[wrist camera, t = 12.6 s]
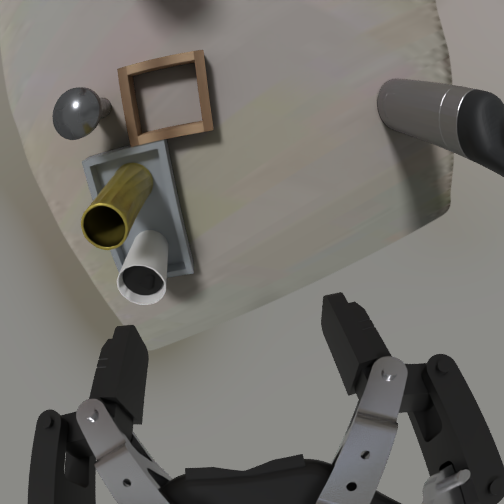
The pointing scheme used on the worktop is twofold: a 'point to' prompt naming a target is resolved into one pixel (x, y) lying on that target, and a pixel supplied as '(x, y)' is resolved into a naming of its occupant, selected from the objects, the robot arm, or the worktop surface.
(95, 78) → the worktop surface
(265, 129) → the worktop surface
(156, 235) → the white cup
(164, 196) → the tray
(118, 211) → the vase
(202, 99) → the holder
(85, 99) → the knob post
